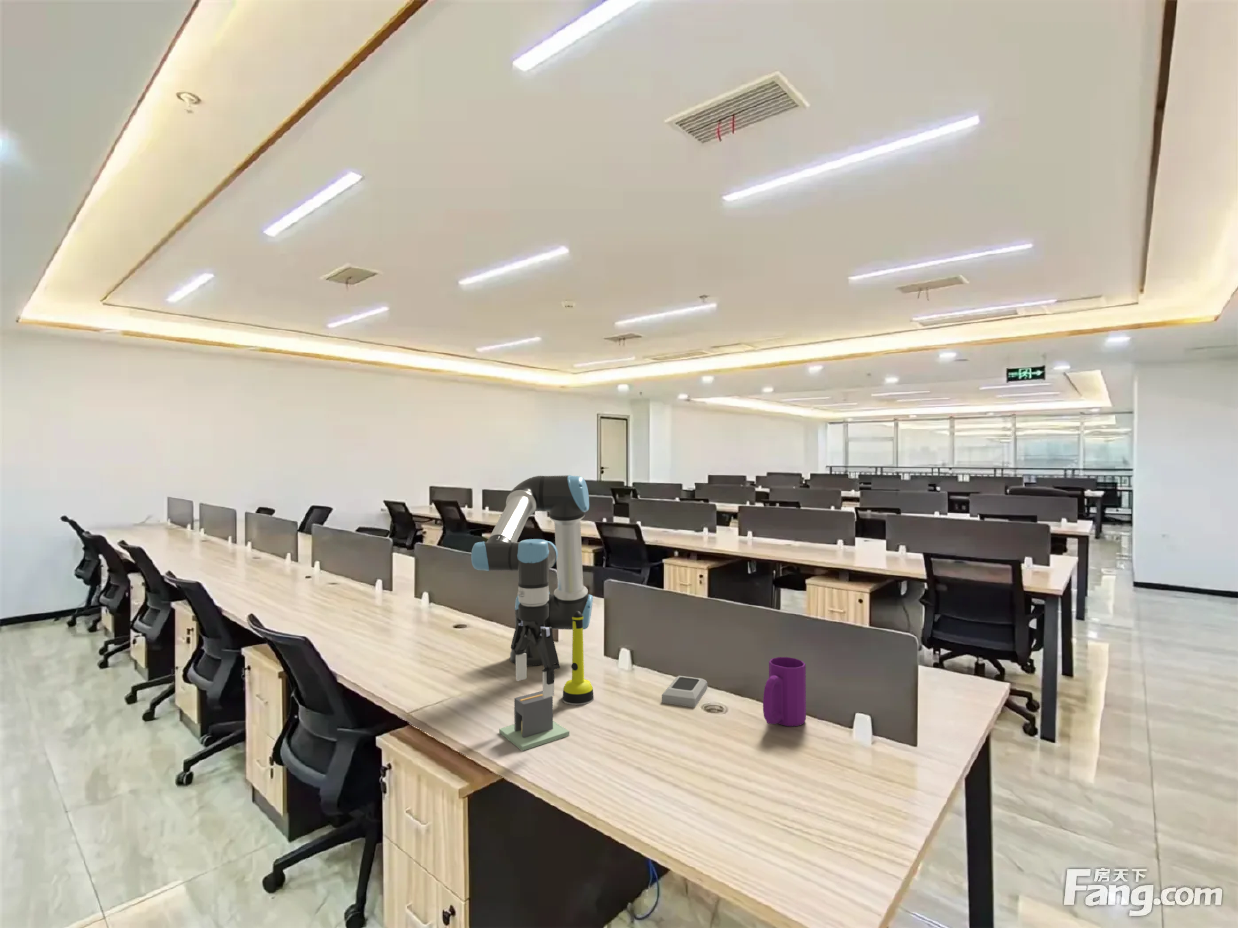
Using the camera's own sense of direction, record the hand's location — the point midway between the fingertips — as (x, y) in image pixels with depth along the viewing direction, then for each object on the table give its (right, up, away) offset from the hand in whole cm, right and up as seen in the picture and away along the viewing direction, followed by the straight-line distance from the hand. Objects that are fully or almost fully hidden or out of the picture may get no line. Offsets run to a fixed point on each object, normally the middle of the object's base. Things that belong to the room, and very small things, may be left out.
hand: (534, 687), depth 147 cm
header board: (0, -11, 0) cm, 11 cm away
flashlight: (+9, -12, +22) cm, 26 cm away
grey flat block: (+40, -12, +24) cm, 48 cm away
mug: (+63, -11, +5) cm, 64 cm away
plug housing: (0, -10, -1) cm, 10 cm away
